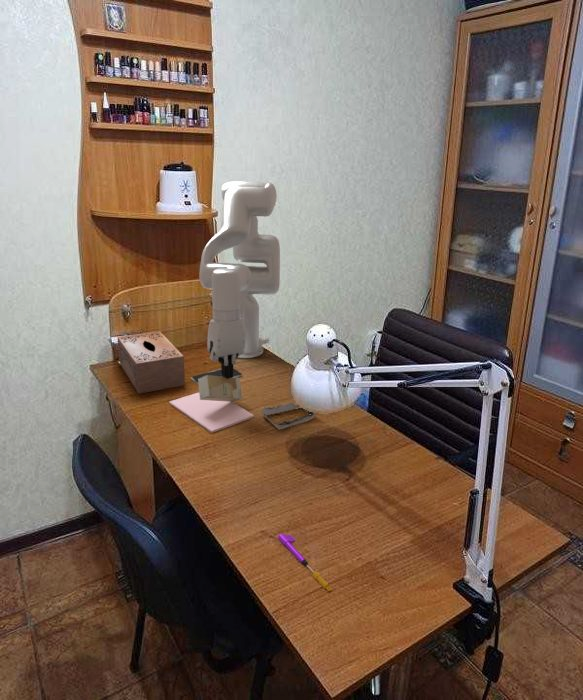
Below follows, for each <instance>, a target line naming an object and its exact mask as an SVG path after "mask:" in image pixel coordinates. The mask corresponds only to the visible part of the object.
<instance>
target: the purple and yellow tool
mask: <svg viewBox="0 0 583 700" xmlns="http://www.w3.org/2000/svg"><path fill="white" fill-rule="evenodd" d="M278 540H279V541H280V543H282V545H283V546H284V547H286V548H287V549H288V550H289V551H290V553H291V554H292V555H293V556H294V557H295V558H296V559H297V560H298V561H299V563H300V564H302V565H303V566H304V567H307V568H308V569H309V570H310V571H311V573H312V574H311V577H313V579H315V581H317V582H318V583H319V584H320V585H321V586H322V588H324V589H326V590H327V592H331V591H332V590H333V589H332V588H331V587H330V585H329V583H328V582H327V581H326V580H325V579H324V578H323V577H322V575H321V574H320V573H319V571H317V570H315V571H314V570H313V569H312V568H311V567H310V565H309V562H308V561H307V560H306V559H305V557H304V556H303V555H302V553H300V552H299V551H298V550H297V548H296V547H295V546H294V545H293V544H292V543H294V542H296V539H295V538H294V537H293V536H292V535H291V534H288V535H287V534H285V533H284V534H282V533H280V534H278Z"/></svg>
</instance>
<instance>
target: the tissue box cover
mask: <svg viewBox="0 0 583 700" xmlns="http://www.w3.org/2000/svg"><path fill="white" fill-rule="evenodd" d="M116 337H117V338H116V339H117V345H118V347H117V348H118V357H119V358H118V359H119V365H120V366H121V368H122V370H123V371H124V374H126V376H127V377H128V379H129V380H130V382H131V384H132V385H133V387H134V388H135V390H136V392H137V393H138V394H143V393H144V394H145V393H150V392H155V391H160V390H165V389H171V388H176V387H182V386H185V385H186V374H185V356H184V354H182V353H181V352H180V350H178V348H177V347H176V346H175V344H173V343H172V342H171V340H170V339H168V337H166V335H165V334H163V332H161V330H159V331H151V332H150V331H149V332H145V333H143V332H142V333H137V334H130V335H128V334H127V335H123V336H116Z"/></svg>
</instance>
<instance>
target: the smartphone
mask: <svg viewBox="0 0 583 700" xmlns="http://www.w3.org/2000/svg"><path fill="white" fill-rule="evenodd" d="M206 375H209V376H219V377H223V376H222V373H221V368H219V369H216V370H212V371H209V372H203V373H201V374H198V375H197V374H196V375H194V376H190V380H191V381H192V382H193V383H195V384H197V385H198V379H199V378H201V377H204V376H206ZM241 377H243V374H242V373H241V372H240V371H238V370H237V369H235V368H233V378H241Z"/></svg>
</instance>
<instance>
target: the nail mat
mask: <svg viewBox="0 0 583 700" xmlns="http://www.w3.org/2000/svg"><path fill="white" fill-rule="evenodd" d="M168 403H169V404H170V405H171V406H172V407H174V408H175V409H177V411H180V412H181V413H182V414H184V415H185V416H186V417H188V418H189V419H191V420H192V421H194V422H195V423H196V424H198V425H199V426H201V427H202V428H204V429H205V430H206V431H208V432H209V433H211V434H213V433H215V432H218V431H221V430H223V429H227V428H229V427H232V426H234V425H236V424H239V423H242V422H245V421H247V420H250V419H253V418H255V415H254V414H253V413H251V412H249V411H247V410H246V409H244V408H243V407H241V406H239V405H238V404H236V403H234V402H227V401H211V400H200V395H199V391H198V392H196V393H192V394H189V395H185V396H183V397H180V398H177V399H173V400H170V401H169V402H168Z"/></svg>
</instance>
